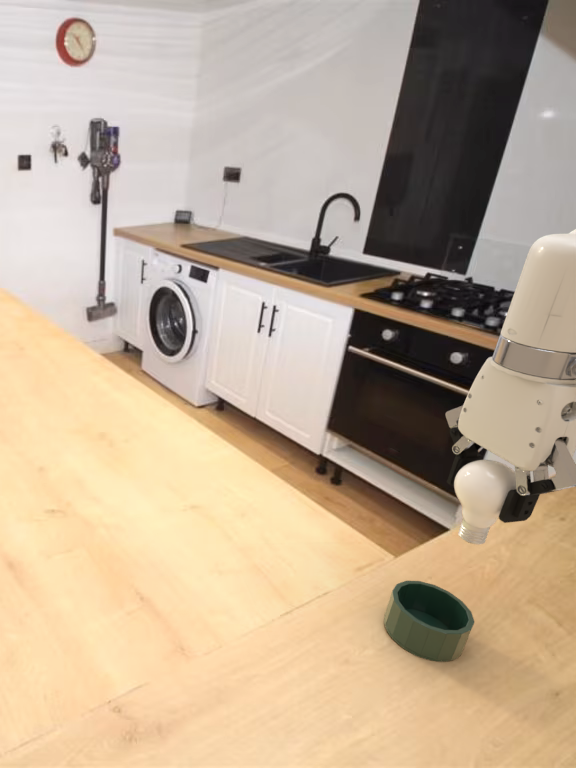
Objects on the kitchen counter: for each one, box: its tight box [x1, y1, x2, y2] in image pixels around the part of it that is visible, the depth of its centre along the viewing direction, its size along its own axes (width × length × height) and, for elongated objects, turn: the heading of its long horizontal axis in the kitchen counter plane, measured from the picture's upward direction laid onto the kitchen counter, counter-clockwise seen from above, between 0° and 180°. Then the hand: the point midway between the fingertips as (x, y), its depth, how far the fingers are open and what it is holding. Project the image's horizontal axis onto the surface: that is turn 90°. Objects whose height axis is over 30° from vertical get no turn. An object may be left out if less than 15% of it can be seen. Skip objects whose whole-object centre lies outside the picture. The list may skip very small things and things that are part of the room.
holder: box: [383, 580, 475, 663], centre depth 70 cm, size 9×9×5 cm
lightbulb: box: [453, 459, 516, 545], centre depth 63 cm, size 6×6×11 cm
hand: (485, 499), depth 63 cm, fingers closed on lightbulb, 6 cm apart
